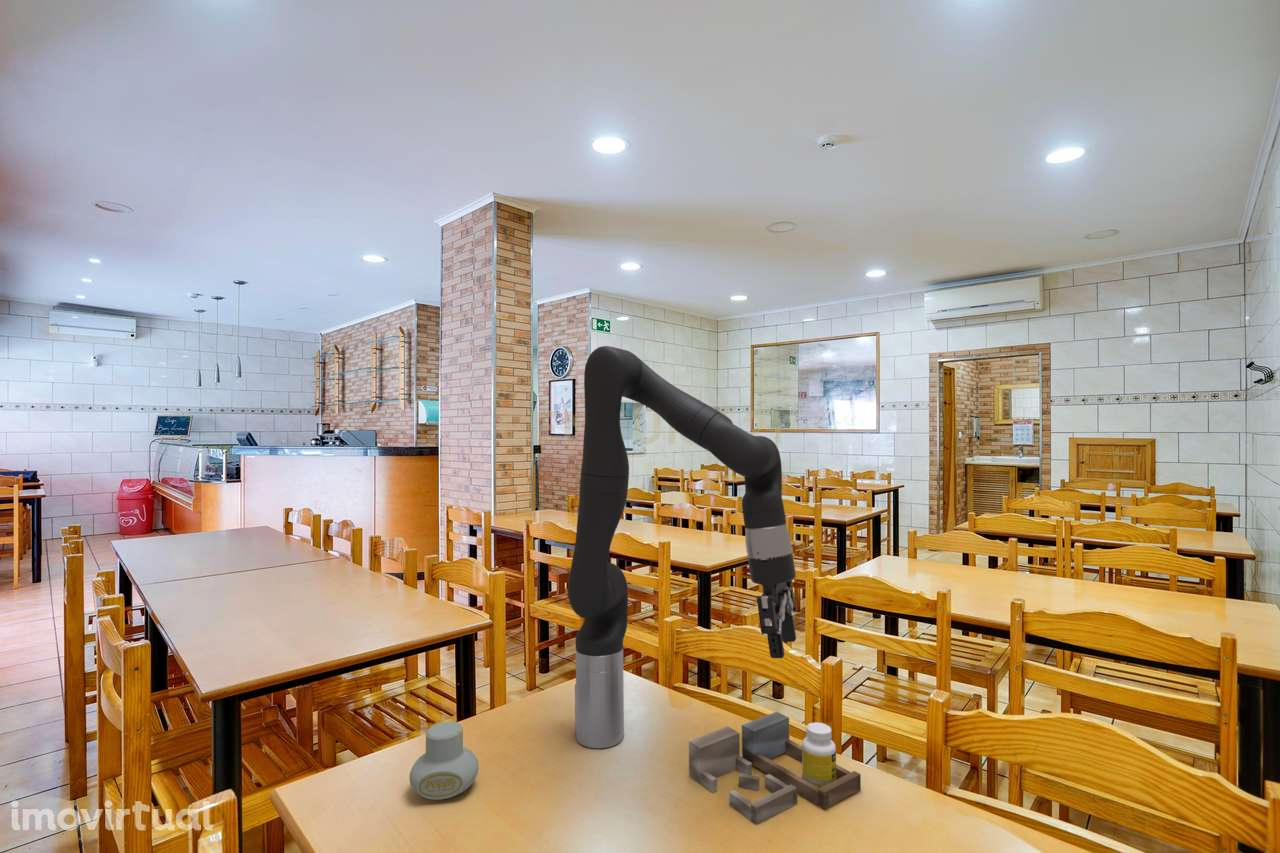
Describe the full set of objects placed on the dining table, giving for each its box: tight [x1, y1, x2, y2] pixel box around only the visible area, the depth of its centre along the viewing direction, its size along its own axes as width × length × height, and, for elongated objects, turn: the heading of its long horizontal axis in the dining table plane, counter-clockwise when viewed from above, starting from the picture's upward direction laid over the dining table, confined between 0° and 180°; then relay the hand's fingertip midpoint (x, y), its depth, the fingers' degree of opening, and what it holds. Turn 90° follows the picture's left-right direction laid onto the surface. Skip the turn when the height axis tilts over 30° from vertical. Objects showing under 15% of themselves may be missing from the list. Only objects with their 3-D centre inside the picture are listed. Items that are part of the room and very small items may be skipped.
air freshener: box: [409, 721, 480, 801], centre depth 102 cm, size 11×8×10 cm
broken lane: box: [688, 726, 798, 825], centre depth 101 cm, size 16×9×6 cm, turn 34°
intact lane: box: [741, 711, 862, 810], centre depth 105 cm, size 18×9×6 cm, turn 34°
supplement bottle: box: [801, 722, 837, 788], centre depth 102 cm, size 5×5×10 cm
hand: (784, 649), depth 103 cm, fingers open, 8 cm apart
